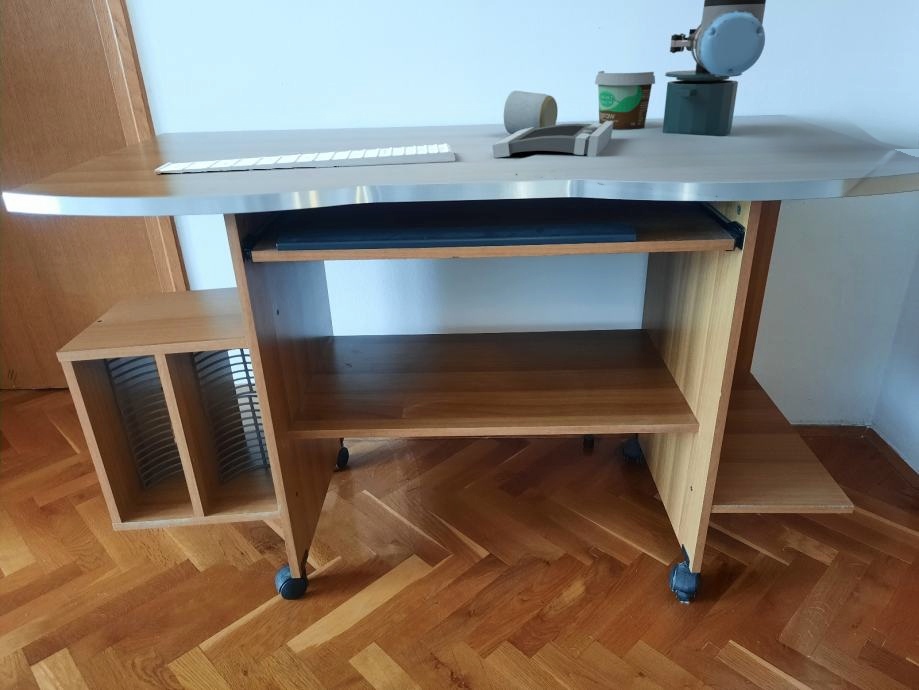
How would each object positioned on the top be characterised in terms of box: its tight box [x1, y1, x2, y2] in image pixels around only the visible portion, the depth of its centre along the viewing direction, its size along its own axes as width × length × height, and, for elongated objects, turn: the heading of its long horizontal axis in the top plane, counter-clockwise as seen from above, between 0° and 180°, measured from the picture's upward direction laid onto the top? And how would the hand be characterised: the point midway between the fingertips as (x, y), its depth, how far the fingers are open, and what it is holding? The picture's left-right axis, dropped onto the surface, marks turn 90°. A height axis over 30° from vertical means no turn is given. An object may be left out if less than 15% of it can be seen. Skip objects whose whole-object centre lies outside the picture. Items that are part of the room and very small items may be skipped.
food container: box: [594, 70, 656, 130], centre depth 123 cm, size 12×6×10 cm, turn 42°
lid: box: [664, 20, 743, 81], centre depth 110 cm, size 13×13×9 cm
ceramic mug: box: [503, 90, 558, 135], centre depth 119 cm, size 11×8×8 cm
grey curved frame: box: [491, 121, 613, 159], centre depth 103 cm, size 17×5×16 cm
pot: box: [662, 79, 739, 137], centre depth 114 cm, size 12×17×8 cm
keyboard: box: [154, 142, 456, 173], centre depth 99 cm, size 45×8×2 cm, turn 95°
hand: (703, 40), depth 114 cm, fingers closed on lid, 3 cm apart
